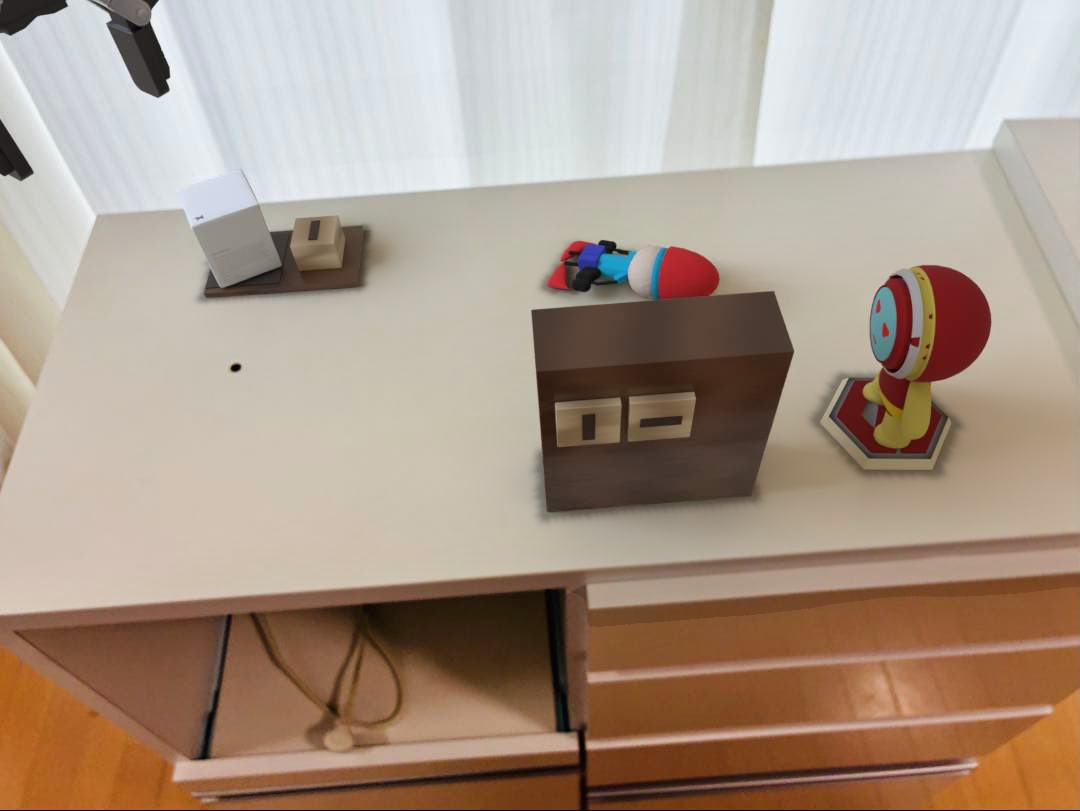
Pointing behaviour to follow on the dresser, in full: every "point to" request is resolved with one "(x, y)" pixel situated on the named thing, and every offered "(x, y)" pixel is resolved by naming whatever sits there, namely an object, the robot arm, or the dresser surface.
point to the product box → (229, 227)
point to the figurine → (910, 368)
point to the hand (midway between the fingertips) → (90, 130)
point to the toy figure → (639, 270)
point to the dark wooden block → (657, 398)
